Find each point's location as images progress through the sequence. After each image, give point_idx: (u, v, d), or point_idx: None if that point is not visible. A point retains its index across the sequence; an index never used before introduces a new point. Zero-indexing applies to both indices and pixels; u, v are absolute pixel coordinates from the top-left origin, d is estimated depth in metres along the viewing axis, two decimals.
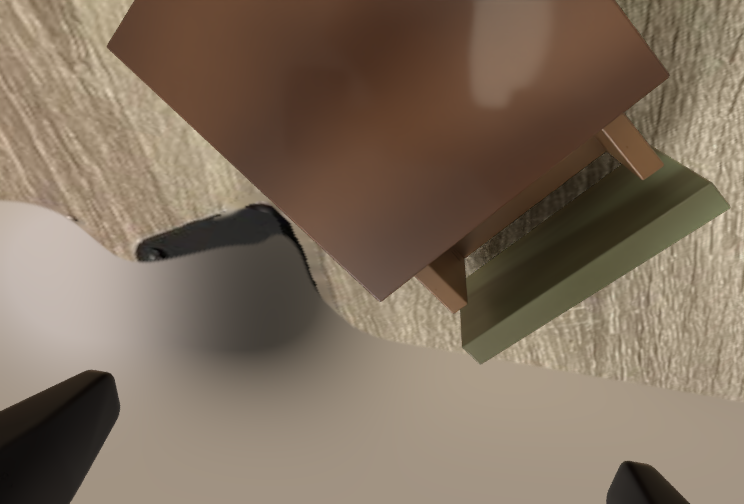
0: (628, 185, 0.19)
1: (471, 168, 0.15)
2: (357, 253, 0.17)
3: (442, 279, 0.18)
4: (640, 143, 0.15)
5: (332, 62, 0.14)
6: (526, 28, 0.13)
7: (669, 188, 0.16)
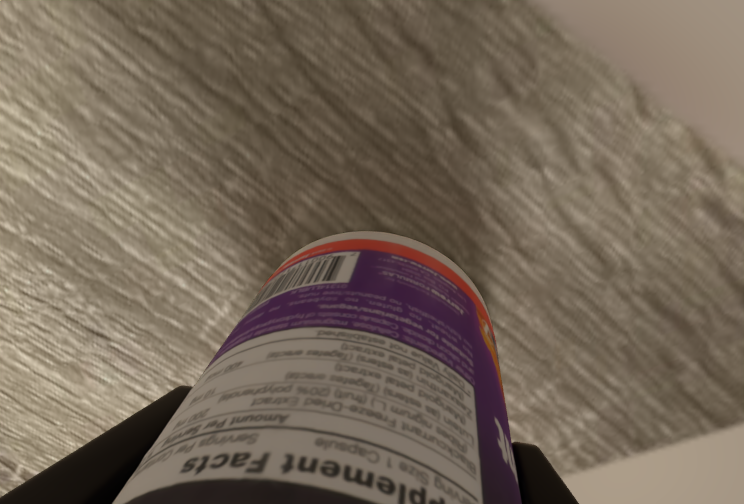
0: None
1: None
2: None
3: None
4: None
5: None
6: None
7: None
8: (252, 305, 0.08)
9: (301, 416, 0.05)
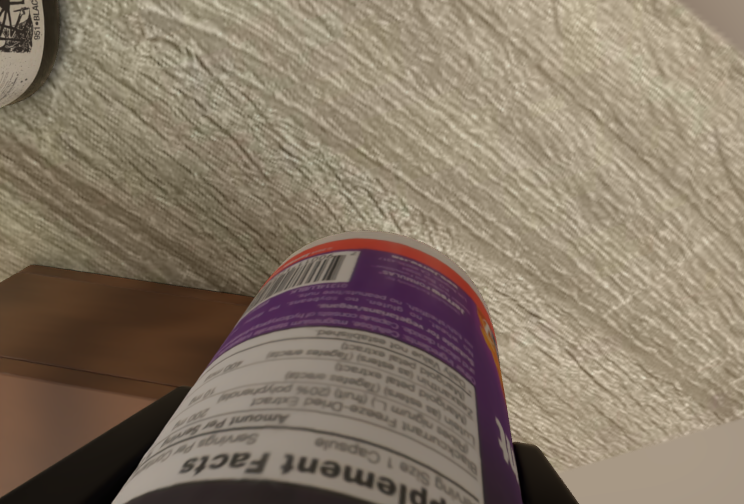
0: None
1: None
2: None
3: None
4: None
5: None
6: None
7: None
8: (252, 305, 0.08)
9: (302, 415, 0.05)
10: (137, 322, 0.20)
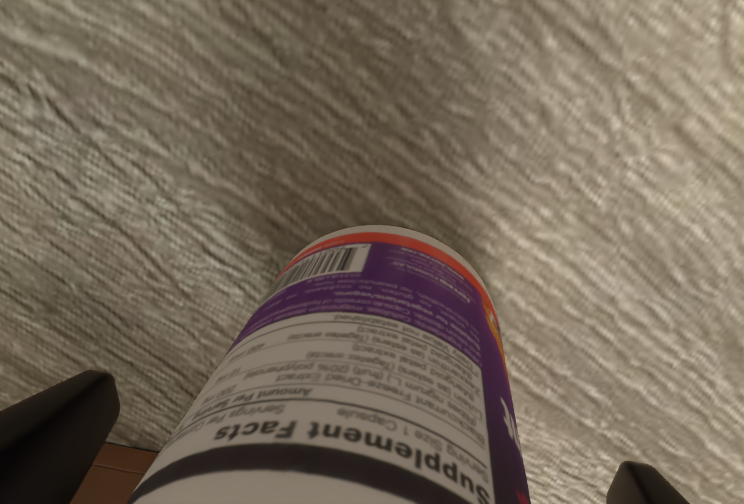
0: None
1: None
2: None
3: None
4: None
5: None
6: None
7: None
8: (268, 294, 0.09)
9: (324, 389, 0.05)
10: None
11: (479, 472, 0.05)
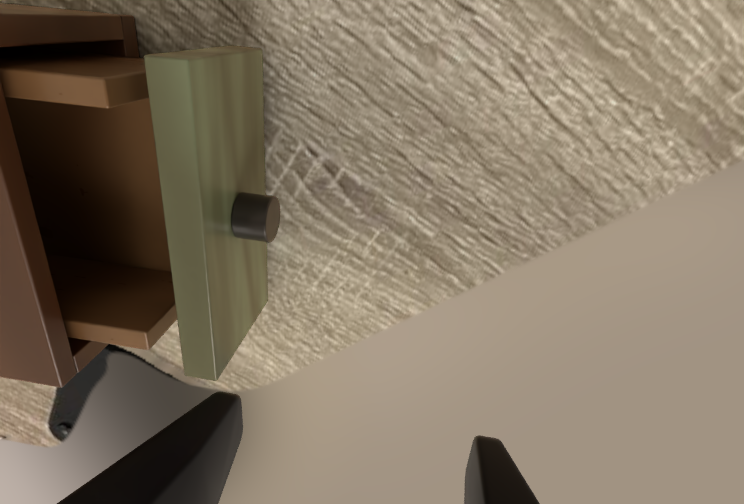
0: None
1: None
2: (0, 359, 0.16)
3: (105, 327, 0.16)
4: (63, 80, 0.12)
5: None
6: None
7: None
8: None
9: None
10: None
11: None
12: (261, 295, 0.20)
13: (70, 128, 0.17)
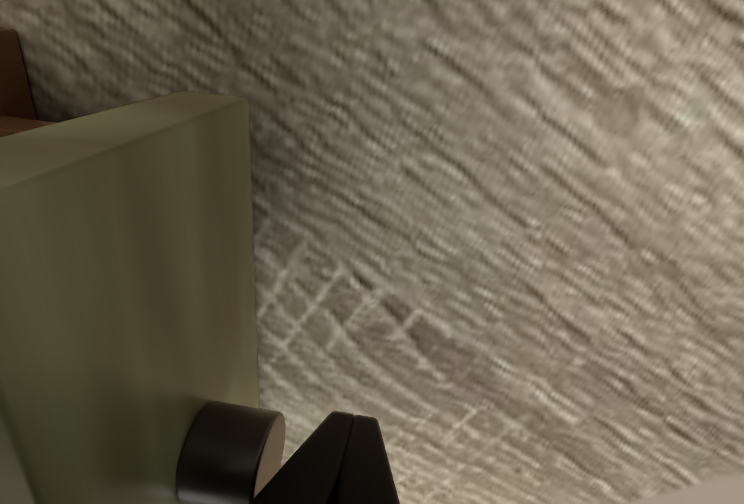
0: None
1: None
2: None
3: None
4: None
5: None
6: None
7: None
8: None
9: None
10: None
11: None
12: None
13: None
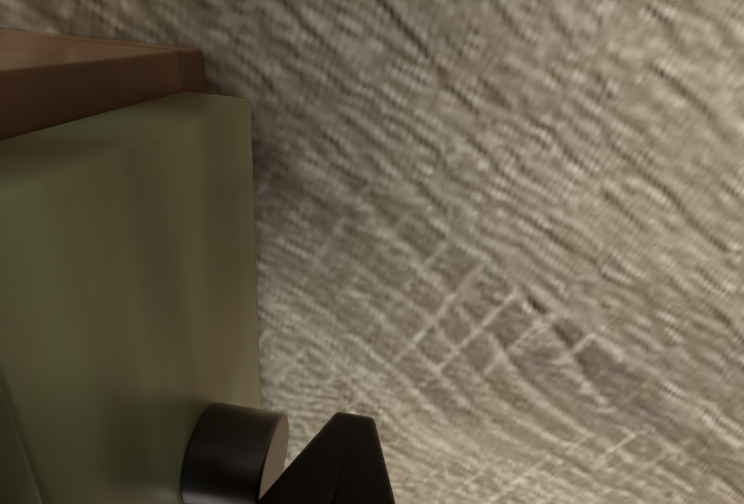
0: None
1: None
2: None
3: None
4: None
5: None
6: None
7: None
8: None
9: None
10: None
11: None
12: None
13: None
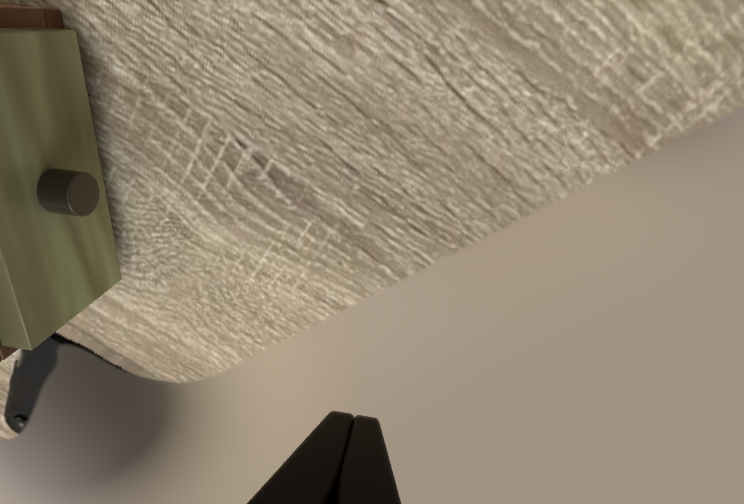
0: None
1: None
2: None
3: None
4: None
5: None
6: None
7: None
8: None
9: None
10: None
11: None
12: (107, 272, 0.20)
13: None
